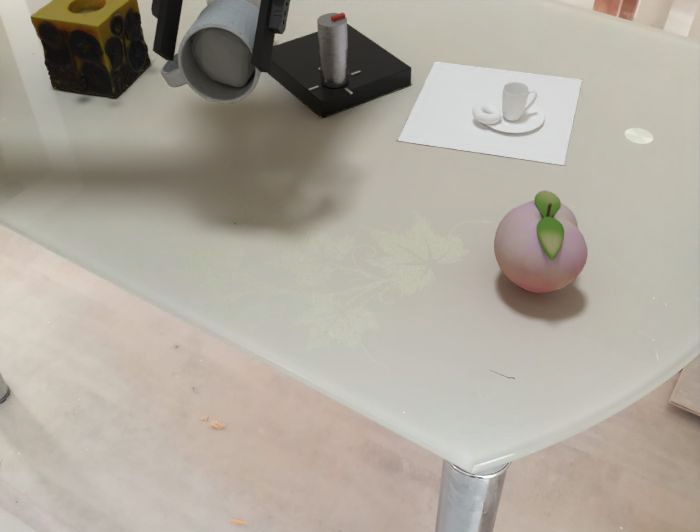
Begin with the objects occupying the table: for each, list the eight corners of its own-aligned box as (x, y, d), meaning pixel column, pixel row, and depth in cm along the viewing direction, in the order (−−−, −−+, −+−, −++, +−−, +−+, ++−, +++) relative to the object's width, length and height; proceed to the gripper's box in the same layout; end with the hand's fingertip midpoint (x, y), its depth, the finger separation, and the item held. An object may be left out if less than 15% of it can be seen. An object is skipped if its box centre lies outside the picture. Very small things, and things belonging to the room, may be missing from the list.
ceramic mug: (277, 62, 78) (268, -15, 73) (263, 105, 73) (253, 26, 67) (176, 60, 79) (159, -16, 74) (155, 103, 74) (135, 25, 68)
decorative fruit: (481, 256, 80) (491, 176, 72) (559, 250, 80) (577, 170, 73) (499, 321, 74) (512, 241, 66) (584, 315, 74) (607, 234, 66)
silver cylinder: (330, 91, 98) (327, 27, 92) (315, 79, 100) (311, 15, 94) (354, 82, 99) (352, 18, 93) (339, 70, 101) (336, 7, 95)
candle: (51, 89, 105) (26, 17, 98) (90, 54, 111) (69, -17, 104) (116, 100, 103) (96, 27, 95) (153, 63, 109) (136, -8, 101)
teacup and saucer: (467, 130, 95) (470, 100, 92) (479, 97, 100) (483, 67, 97) (539, 140, 93) (544, 110, 90) (548, 106, 98) (553, 76, 95)
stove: (261, 67, 107) (259, 49, 105) (346, 38, 112) (345, 20, 110) (325, 121, 98) (324, 102, 96) (415, 87, 102) (415, 69, 100)
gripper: (376, -162, 70) (333, 87, 72) (161, -174, 75) (125, 61, 77) (359, -218, 63) (311, 62, 65) (121, -227, 68) (83, 34, 69)
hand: (210, 61), depth 71 cm, fingers closed on ceramic mug, 9 cm apart
